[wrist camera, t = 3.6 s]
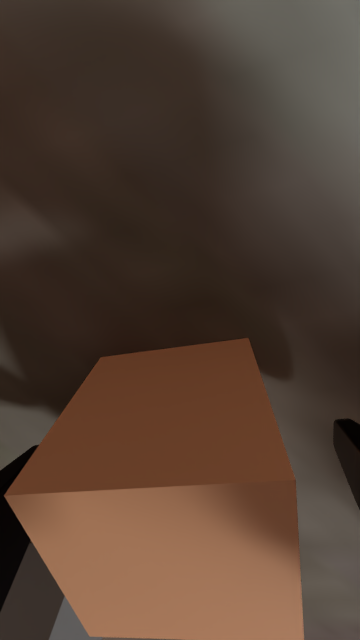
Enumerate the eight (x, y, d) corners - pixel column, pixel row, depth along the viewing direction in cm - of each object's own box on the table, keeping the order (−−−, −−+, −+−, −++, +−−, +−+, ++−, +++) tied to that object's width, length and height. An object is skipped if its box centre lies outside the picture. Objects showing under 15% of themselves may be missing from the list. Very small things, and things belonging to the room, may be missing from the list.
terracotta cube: (247, 336, 9) (295, 479, 4) (260, 452, 11) (304, 642, 6) (101, 355, 10) (3, 495, 5) (136, 461, 11) (89, 636, 7)
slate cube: (84, 540, 14) (23, 708, 9) (112, 595, 15) (72, 760, 11) (-4, 542, 14) (-102, 699, 10) (32, 595, 16) (-37, 749, 12)
